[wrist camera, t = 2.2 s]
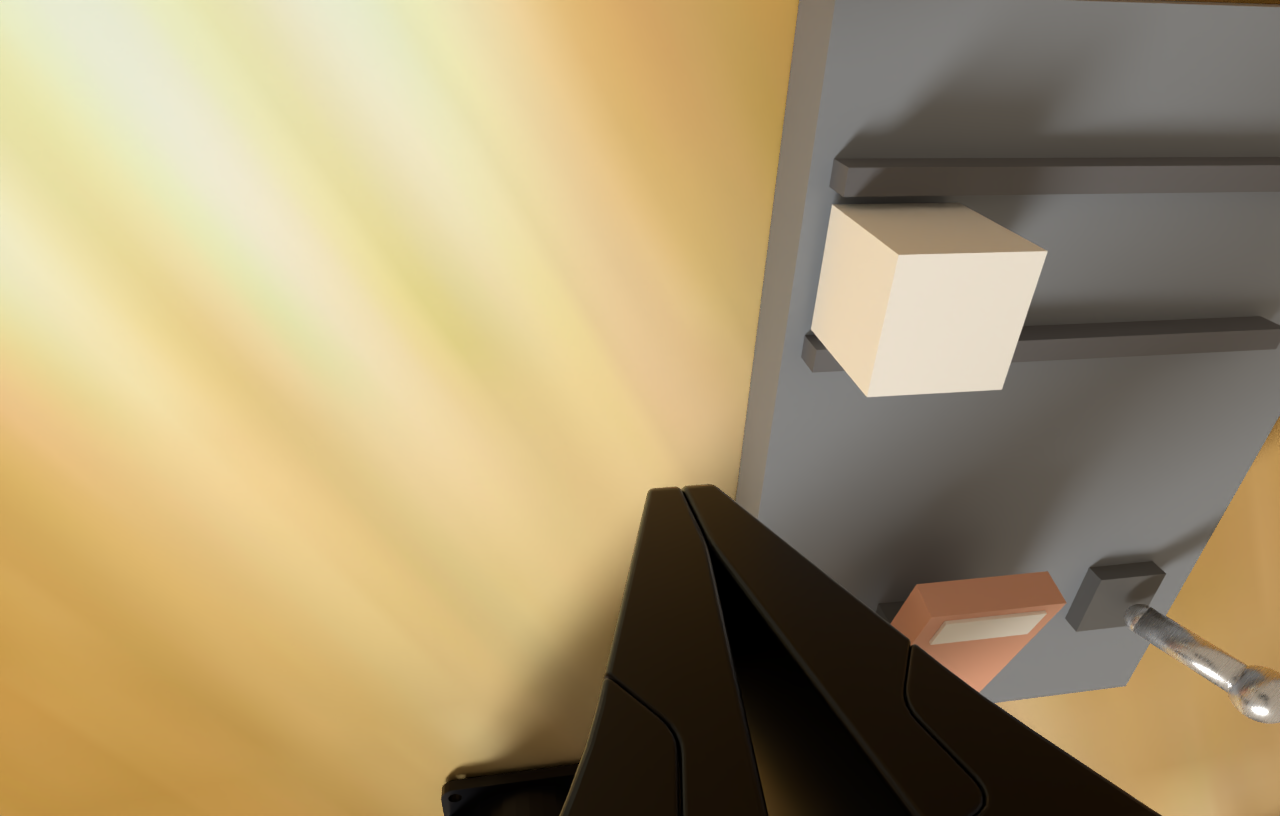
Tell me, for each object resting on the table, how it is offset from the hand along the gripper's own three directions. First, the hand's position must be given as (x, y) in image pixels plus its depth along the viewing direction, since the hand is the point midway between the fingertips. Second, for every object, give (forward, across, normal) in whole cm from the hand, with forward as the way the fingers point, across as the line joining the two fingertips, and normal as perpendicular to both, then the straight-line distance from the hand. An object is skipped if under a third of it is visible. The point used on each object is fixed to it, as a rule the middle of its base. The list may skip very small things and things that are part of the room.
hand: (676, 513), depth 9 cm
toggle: (+7, -18, +12) cm, 22 cm away
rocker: (+7, -10, +12) cm, 17 cm away
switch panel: (+10, -12, +6) cm, 17 cm away
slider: (+8, -6, 0) cm, 11 cm away
